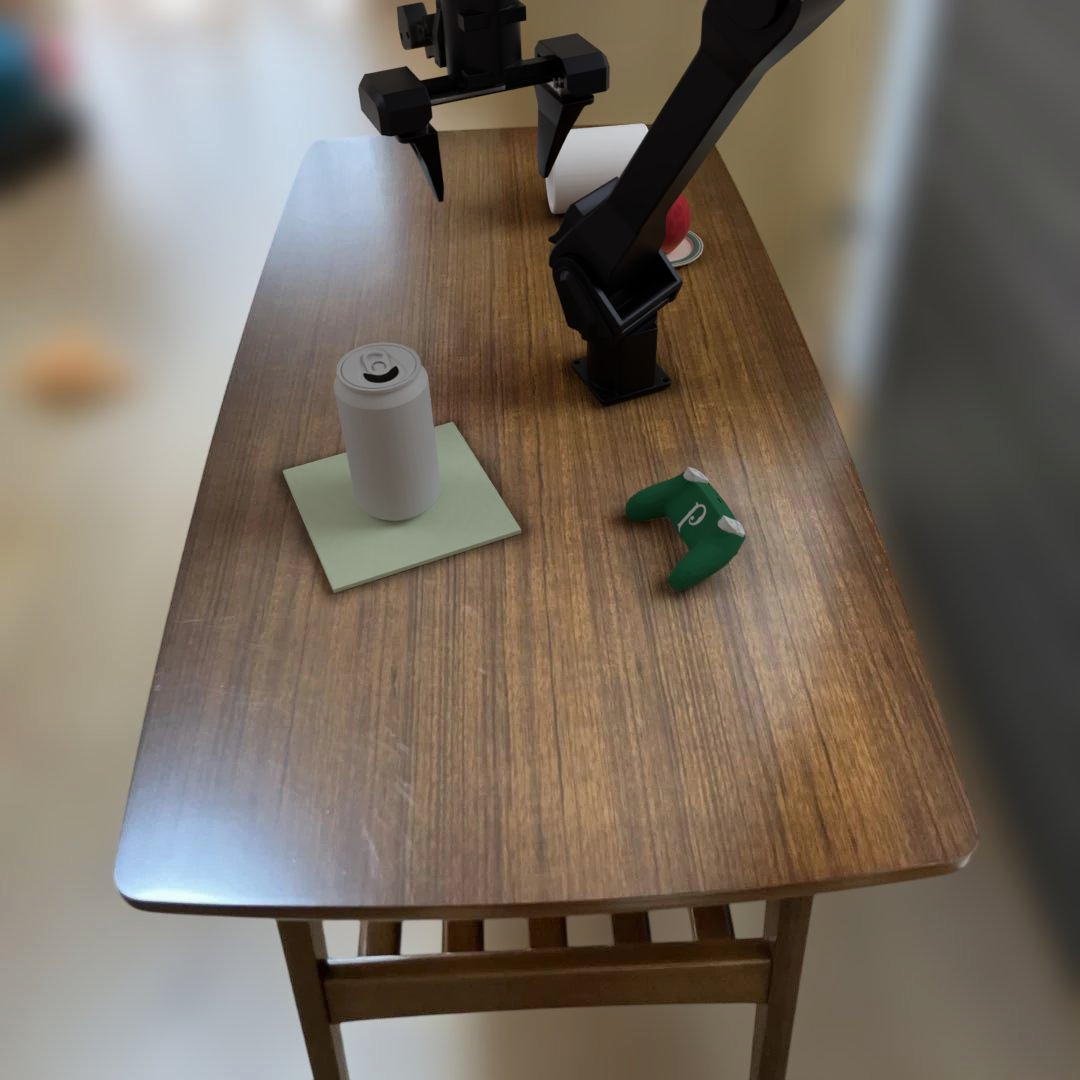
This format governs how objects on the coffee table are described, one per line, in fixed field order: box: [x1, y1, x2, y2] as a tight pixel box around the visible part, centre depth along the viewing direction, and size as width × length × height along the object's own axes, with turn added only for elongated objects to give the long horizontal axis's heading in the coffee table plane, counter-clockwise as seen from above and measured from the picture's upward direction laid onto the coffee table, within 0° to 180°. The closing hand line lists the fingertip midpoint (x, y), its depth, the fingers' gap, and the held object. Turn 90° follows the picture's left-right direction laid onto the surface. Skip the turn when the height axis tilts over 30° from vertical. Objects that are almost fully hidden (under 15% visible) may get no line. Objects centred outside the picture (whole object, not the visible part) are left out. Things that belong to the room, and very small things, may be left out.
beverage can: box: [333, 341, 441, 521], centre depth 79 cm, size 6×6×12 cm
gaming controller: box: [624, 466, 747, 593], centre depth 78 cm, size 9×4×6 cm
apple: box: [661, 193, 704, 268], centre depth 107 cm, size 8×8×6 cm
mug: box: [544, 123, 649, 215], centre depth 115 cm, size 12×10×8 cm
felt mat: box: [282, 421, 522, 594], centre depth 83 cm, size 14×14×1 cm
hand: (492, 187), depth 91 cm, fingers open, 9 cm apart
